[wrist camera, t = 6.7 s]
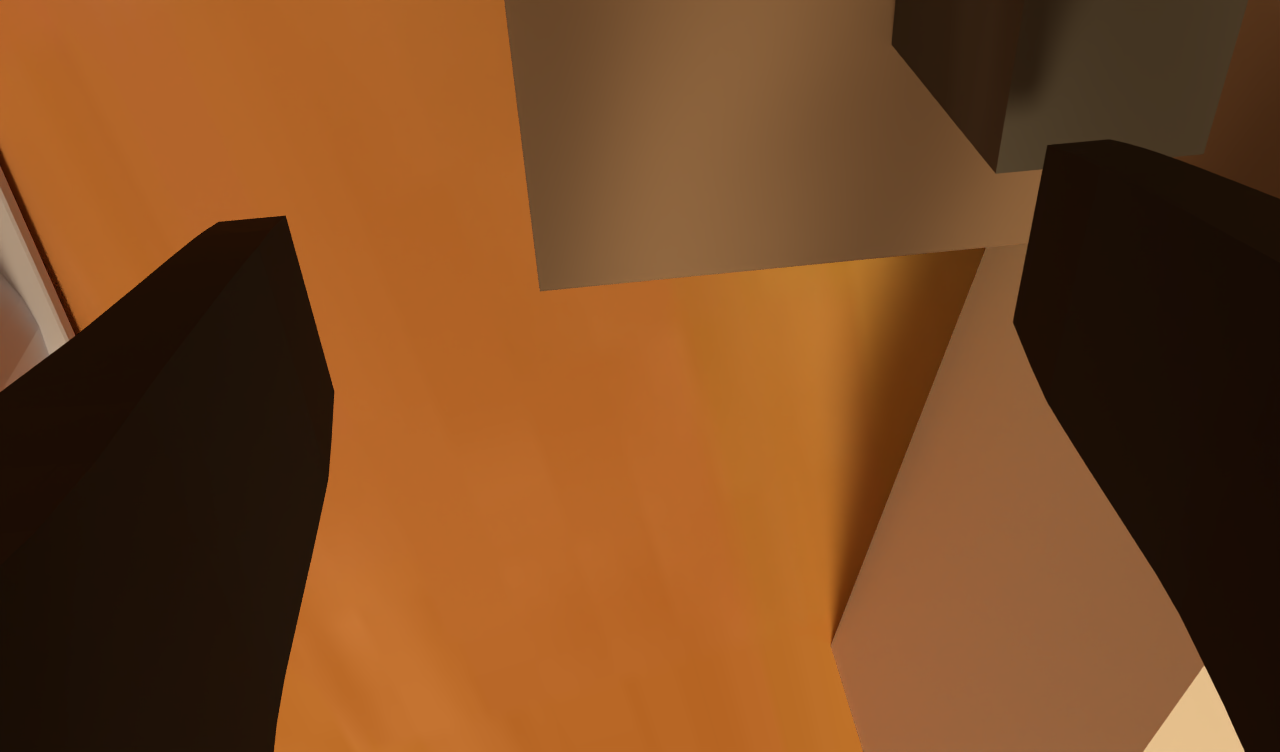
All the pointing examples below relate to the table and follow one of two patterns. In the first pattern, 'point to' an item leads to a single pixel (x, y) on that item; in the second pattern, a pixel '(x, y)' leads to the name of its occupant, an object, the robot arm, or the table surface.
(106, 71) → the table surface
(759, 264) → the lid
